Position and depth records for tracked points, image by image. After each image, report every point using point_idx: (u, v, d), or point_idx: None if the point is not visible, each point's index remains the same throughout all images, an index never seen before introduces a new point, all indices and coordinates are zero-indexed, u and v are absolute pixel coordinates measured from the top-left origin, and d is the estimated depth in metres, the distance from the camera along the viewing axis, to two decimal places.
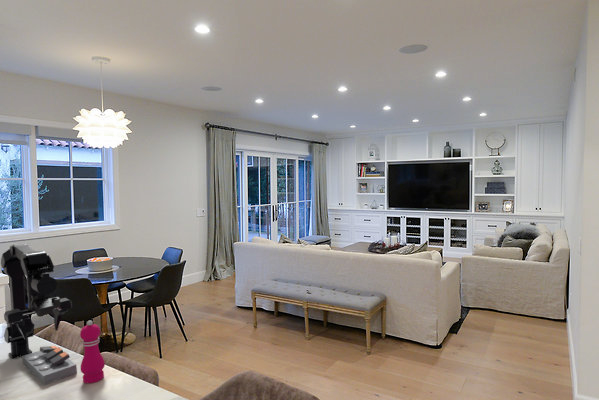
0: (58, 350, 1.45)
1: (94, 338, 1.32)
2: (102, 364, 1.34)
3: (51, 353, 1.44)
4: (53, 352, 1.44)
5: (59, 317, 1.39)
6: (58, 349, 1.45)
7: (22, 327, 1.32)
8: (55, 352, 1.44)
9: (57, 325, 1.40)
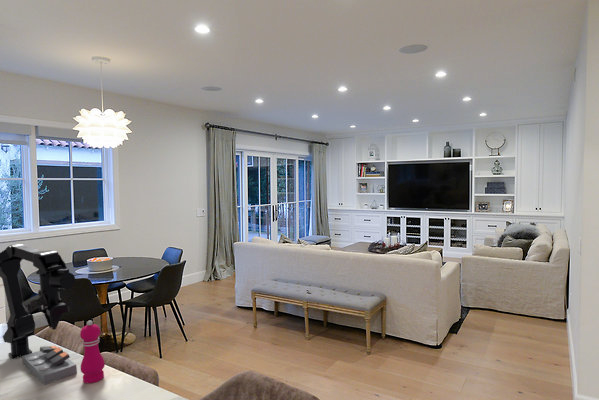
0: (58, 350, 1.45)
1: (94, 338, 1.32)
2: (102, 364, 1.34)
3: (51, 353, 1.44)
4: (53, 352, 1.44)
5: (49, 318, 1.44)
6: (58, 349, 1.45)
7: (46, 316, 1.47)
8: (55, 352, 1.44)
9: (51, 325, 1.45)
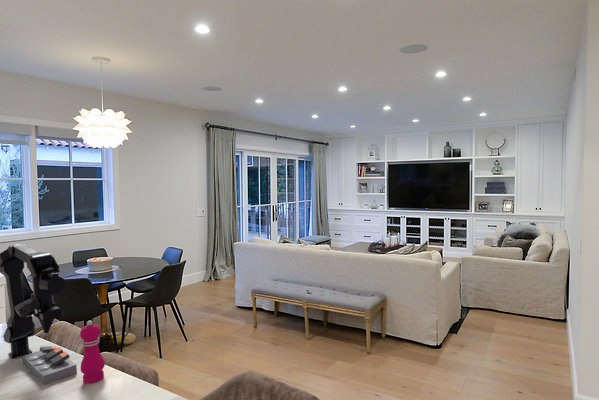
0: (58, 350, 1.45)
1: (94, 338, 1.32)
2: (102, 364, 1.34)
3: (51, 353, 1.44)
4: (53, 352, 1.44)
5: (41, 321, 1.40)
6: (58, 349, 1.45)
7: (40, 321, 1.42)
8: (55, 352, 1.44)
9: (43, 328, 1.41)
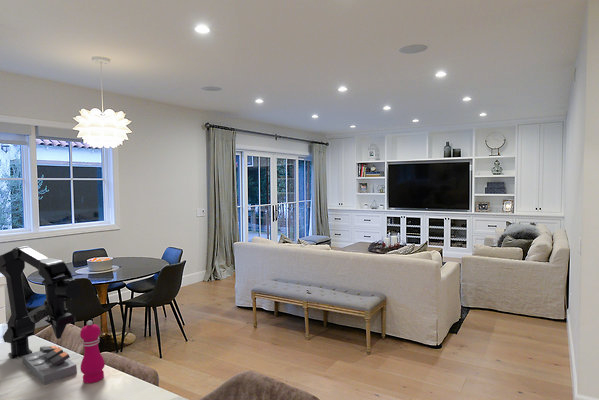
0: (58, 350, 1.45)
1: (94, 338, 1.32)
2: (102, 364, 1.34)
3: (51, 353, 1.44)
4: (53, 352, 1.44)
5: (54, 327, 1.44)
6: (58, 349, 1.45)
7: (53, 327, 1.45)
8: (55, 352, 1.44)
9: (56, 334, 1.45)
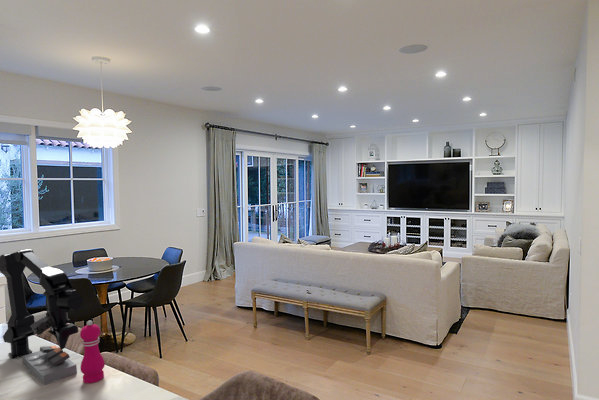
0: (58, 350, 1.45)
1: (94, 338, 1.32)
2: (102, 364, 1.34)
3: (52, 352, 1.44)
4: (53, 352, 1.44)
5: (57, 338, 1.44)
6: (58, 349, 1.46)
7: (56, 338, 1.46)
8: (55, 352, 1.44)
9: (59, 345, 1.45)
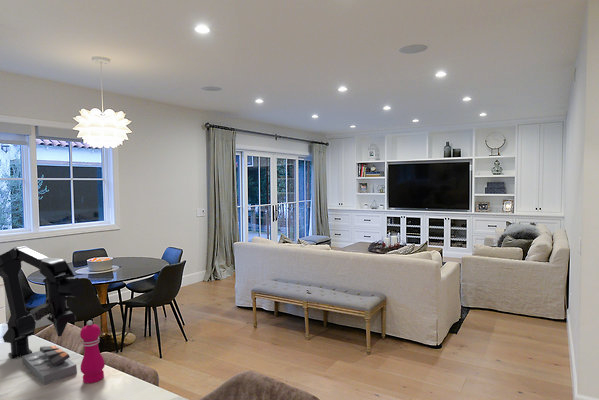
0: (60, 351, 1.45)
1: (94, 338, 1.32)
2: (102, 364, 1.34)
3: (53, 352, 1.44)
4: (54, 352, 1.45)
5: (55, 325, 1.46)
6: (60, 350, 1.46)
7: (54, 325, 1.48)
8: (56, 352, 1.44)
9: (57, 332, 1.47)
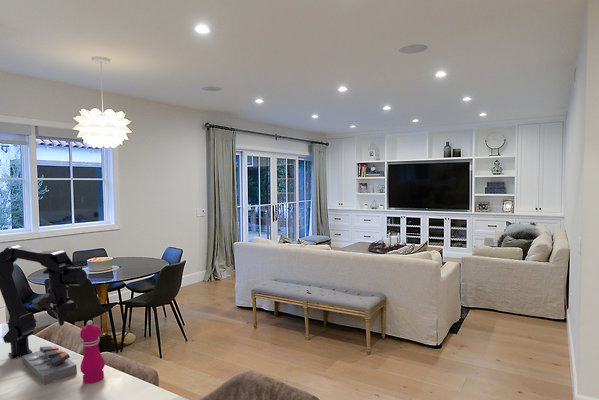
0: (60, 351, 1.45)
1: (94, 338, 1.32)
2: (102, 364, 1.34)
3: (53, 352, 1.45)
4: (55, 352, 1.45)
5: (57, 315, 1.50)
6: (60, 350, 1.46)
7: (56, 314, 1.52)
8: (57, 352, 1.44)
9: (58, 321, 1.51)
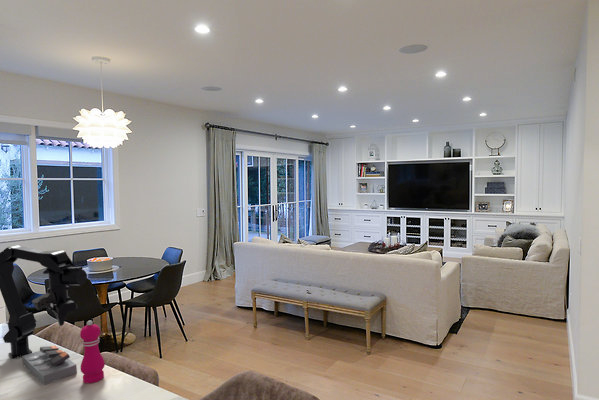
0: (60, 351, 1.45)
1: (94, 338, 1.32)
2: (102, 364, 1.34)
3: (53, 352, 1.45)
4: (55, 352, 1.45)
5: (57, 315, 1.50)
6: (60, 351, 1.46)
7: (56, 314, 1.52)
8: (57, 352, 1.44)
9: (58, 321, 1.51)
